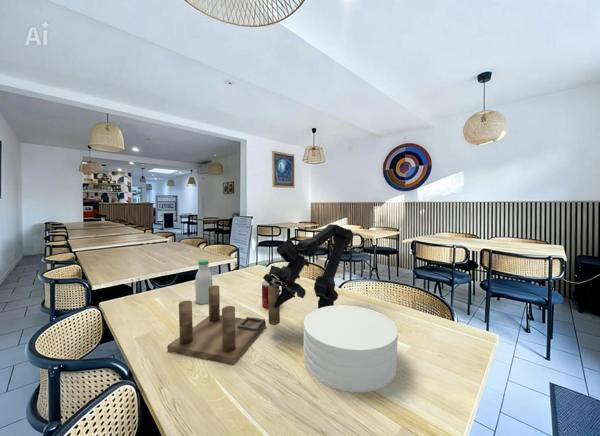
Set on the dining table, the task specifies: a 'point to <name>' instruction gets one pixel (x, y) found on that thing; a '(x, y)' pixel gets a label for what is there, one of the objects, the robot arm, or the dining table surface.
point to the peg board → (215, 332)
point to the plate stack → (350, 348)
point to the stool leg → (273, 312)
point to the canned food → (265, 294)
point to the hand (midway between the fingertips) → (270, 305)
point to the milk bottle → (203, 282)
